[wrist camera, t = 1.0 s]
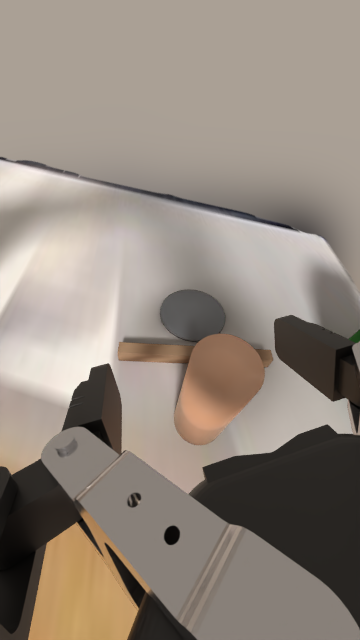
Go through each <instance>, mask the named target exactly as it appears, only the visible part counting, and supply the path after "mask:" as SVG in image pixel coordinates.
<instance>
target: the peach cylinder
mask: <svg viewBox="0 0 360 640" xmlns="http://www.w3.org/2000/svg"><path fill="white" fill-rule="evenodd" d="M264 377H265V371H264V366H263V362H262V360H261V358H260V356H259V354H258V353H257V352H256V350H255V349H254V348H253V347H252V346H251V345H250V344H248V343H247V342H246V341H244V340H242V339H240V338H238V337H236V336H233V335H229V334H213V335H210V336H207V337H205V338H203V339H202V340H200V341H199V342H198V343H197V344H196V345H195V347H194V349H193V351H192V353H191V357H190V360H189V364H188V367H187V371H186V374H185V378H184V381H183V385H182V388H181V392H180V395H179V399H178V402H177V406H176V409H175V413H174V424H175V427H176V430H177V431H178V433H179V434H180V436H181V437H182V438H183V439H184V440H186V441H187V442H189V443H191V444H194V445H205V444H208V443H210V442H212V441H213V440H215V439H216V438H217V436H218V435H219V434H220V433H221V432H222V431H223V430H224V429H225V428H226V427H227V425H228V424H229V423H230V422H231V421H232V420H233V419H234V418H235V417H236V416H237V414H238V413H239V412H240V411H241V410H242V409H243V408H244V407H245V406H246V405H247V403H248V402H249V401H250V400H251V399H252V398H253V397H254V396H255V395H256V393H257V392H258V391H259V390H260V388H261V387H262V385H263V382H264Z"/></svg>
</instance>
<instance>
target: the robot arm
mask: <svg viewBox="0 0 360 640" xmlns="http://www.w3.org/2000/svg"><path fill="white" fill-rule="evenodd" d="M274 333H275V350H276V353H277V355H278V357H279V359H280V360H281V361H283V362H284V363H285V364H286V365H288V366H289V367H290V368H291V369H293V370H294V371H295V372H296V373H298V374H299V375H300V376H301V377H303V378H304V379H305V380H306V381H308V382H309V383H310V384H311V385H313V386H314V387H315V388H316V389H318V390H319V391H320V392H321V393H323V394H324V395H325V396H326V397H328V398H329V399H330V400H331V401H333V402H334V401H337V400H340V399H343V398H347V399H348V403H347V408H348V413H349V417H350V422H351V427H352V432H353V434H337V433H336V432H335V431H334V430H333V429H332V428H331V427H330V426H329V425H328V424H327V425H324V426H321V427H318V428H316V429H313V430H310V431H307V432H304V433H301V434H298V435H297V436H296V437H294V438H293V439H291V440H290V441H288V442H287V443H286V444H284V445H283V446H281V447H280V448H279V449H277V450H276V451H274V452H272V453H264V454H253V455H242V456H234V457H231V458H228V459H225V460H222V461H219V462H216V463H214V464H211V465H208V466H205V467H202V468H203V472H204V477H205V480H204V481H202V482H201V483H199V484H198V485H197V486H196V487H195V488H194V489H193V490H192V491H191V492H190V493H189V494H187V493H186V492H184V491H183V490H182V489H180V488H179V487H178V486H176V485H175V484H173V483H172V482H171V481H169V480H168V479H167V478H165V477H164V476H163V475H161V474H160V473H159V472H157V471H156V470H155V469H153V468H152V467H150V466H149V465H148V464H146V463H145V462H144V461H142V460H141V459H140V458H138V457H137V456H136V455H134V454H133V453H131V452H130V451H127V450H125V451H124V452H123V453H122V454H121V436H122V404H121V398H120V393H119V390H118V387H117V384H116V381H115V378H114V375H113V372H112V369H111V366H110V365H109V363H108V364H104V365H100V366H97V367H93V368H91V371H90V375H89V380H87V381H84V382H81V383H80V384H79V386H78V387H77V388H76V389H75V390H74V393H73V396H72V401H71V402H70V406H69V407H70V408H69V409H68V412H67V415H66V419H65V422H64V425H63V429H62V432H60V433H59V434H57V435H56V436H55V437H53V438H52V439H51V440H50V441H49V442H48V443H47V444H46V446H45V447H44V449H43V451H42V454H41V459H39V460H38V461H36V462H35V463H33V464H31V465H29V466H27V467H25V468H24V469H22V470H20V471H18V472H16V473H15V474H13V475H11V473H10V472H9V470H8V469H7V468H6V467H0V640H28V636H29V631H30V626H31V621H32V616H33V611H34V606H35V600H36V595H37V590H38V585H39V580H40V575H41V569H42V564H43V559H44V554H45V549H46V544H47V542H49V541H50V540H52V539H53V538H55V537H56V536H57V535H59V534H60V533H62V532H63V531H65V530H66V529H67V528H69V527H70V526H72V525H73V524H75V523H76V524H77V526H78V527H79V528H80V530H81V531H82V532H83V534H84V535H85V537H86V538H87V539H88V541H89V542H90V543H91V545H92V546H93V547H94V549H95V550H96V551H97V553H98V554H99V556H100V557H101V558H102V560H103V561H104V562H105V564H106V565H107V567H108V568H109V569H110V571H111V572H112V574H113V576H114V577H115V579H116V581H117V582H118V584H119V585H120V587H121V588H122V590H123V591H124V593H125V594H126V596H127V597H128V598H129V600H130V601H131V603H132V604H133V605H134V607H135V608H136V609H137V611H138V613H137V616H136V618H135V621H134V623H133V626H132V629H131V631H130V634H129V636H128V639H127V640H360V342H359V343H355V342H353V341H351V340H349V339H346V338H344V337H342V336H340V335H338V334H336V333H333V332H332V331H329V330H327V329H326V330H325V328H323V327H321V326H319V325H317V324H313V323H309V322H306V321H304V320H301V319H299V318H297V317H295V316H293V315H289V316H285V317H281V318H278V319H276V320H275V322H274Z"/></svg>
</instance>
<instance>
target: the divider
mask: <svg viewBox="0 0 360 640" xmlns="http://www.w3.org/2000/svg"><path fill="white" fill-rule="evenodd" d="M194 347H195V346H183V345H164V344H145V343H125V342H119V347H118V358H119V360H121V361H143V362H165V363H188V364H189V360H190V357H191V353H192V351H193V349H194ZM255 350H256V352H257V353H258V354H259V356H260V358H261V360H262V362H263V366H264V367H268V366H269V365H270V363H271V362H272V361H273V357H272V353H271V350H261V349H255Z"/></svg>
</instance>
